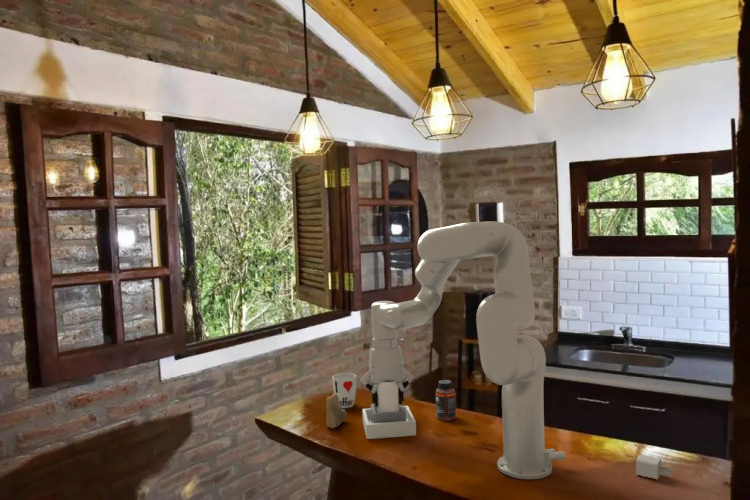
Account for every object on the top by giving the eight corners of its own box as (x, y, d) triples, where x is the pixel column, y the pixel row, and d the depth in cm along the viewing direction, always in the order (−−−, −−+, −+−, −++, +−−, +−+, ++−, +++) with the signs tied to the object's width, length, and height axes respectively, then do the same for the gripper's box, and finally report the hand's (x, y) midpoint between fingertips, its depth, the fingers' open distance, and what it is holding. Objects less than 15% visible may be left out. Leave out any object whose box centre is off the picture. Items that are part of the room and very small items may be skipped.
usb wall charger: (641, 470, 126) (640, 453, 126) (674, 478, 122) (674, 460, 122) (636, 476, 123) (636, 459, 123) (670, 484, 119) (670, 466, 119)
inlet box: (408, 418, 167) (407, 399, 167) (416, 435, 153) (415, 414, 153) (362, 421, 166) (362, 402, 166) (366, 439, 152) (365, 417, 152)
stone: (334, 431, 159) (333, 397, 159) (320, 429, 161) (319, 396, 161) (348, 421, 167) (347, 389, 167) (335, 419, 169) (333, 387, 169)
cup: (330, 409, 179) (329, 379, 179) (336, 401, 187) (335, 372, 187) (355, 409, 178) (353, 379, 177) (359, 402, 186) (358, 373, 185)
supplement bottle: (459, 416, 167) (458, 380, 167) (451, 422, 162) (450, 385, 162) (441, 413, 171) (440, 378, 170) (433, 419, 166) (432, 382, 165)
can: (397, 424, 156) (396, 382, 155) (375, 423, 157) (373, 382, 157) (401, 416, 162) (399, 376, 162) (380, 416, 163) (378, 376, 163)
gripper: (412, 339, 163) (415, 398, 164) (355, 343, 162) (357, 402, 162) (417, 344, 156) (419, 406, 156) (356, 348, 154) (359, 410, 155)
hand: (388, 404), depth 159 cm, fingers closed on can, 6 cm apart
